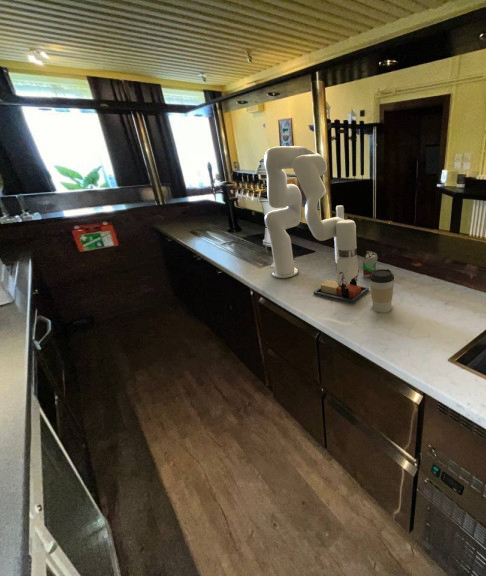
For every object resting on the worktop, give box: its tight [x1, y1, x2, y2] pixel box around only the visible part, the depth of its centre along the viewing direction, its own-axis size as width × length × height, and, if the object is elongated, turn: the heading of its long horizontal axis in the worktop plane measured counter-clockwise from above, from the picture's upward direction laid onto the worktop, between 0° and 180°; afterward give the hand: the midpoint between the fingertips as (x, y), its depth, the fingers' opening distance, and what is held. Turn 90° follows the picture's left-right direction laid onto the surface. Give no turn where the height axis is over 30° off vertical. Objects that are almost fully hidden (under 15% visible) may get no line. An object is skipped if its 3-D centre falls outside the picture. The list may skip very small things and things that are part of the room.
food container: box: [362, 250, 379, 278], centre depth 144 cm, size 12×6×10 cm, turn 168°
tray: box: [313, 279, 370, 305], centre depth 128 cm, size 19×14×2 cm
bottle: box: [333, 205, 345, 264], centre depth 157 cm, size 8×8×30 cm
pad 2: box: [337, 282, 361, 299], centre depth 125 cm, size 8×6×3 cm
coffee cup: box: [369, 268, 395, 313], centre depth 112 cm, size 9×9×15 cm
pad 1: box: [320, 279, 345, 295], centre depth 130 cm, size 8×6×3 cm
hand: (349, 293), depth 126 cm, fingers closed on pad 2, 6 cm apart
